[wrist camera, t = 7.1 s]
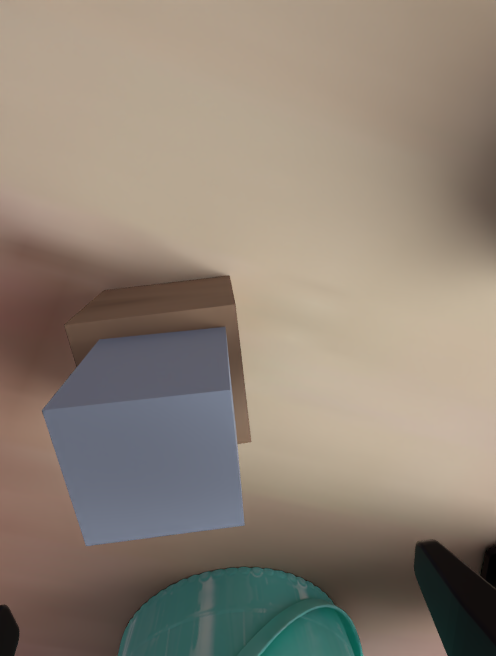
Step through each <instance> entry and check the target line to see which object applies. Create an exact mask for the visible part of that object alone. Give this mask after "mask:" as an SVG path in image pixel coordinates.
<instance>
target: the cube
mask: <svg viewBox="0 0 496 656" xmlns="http://www.w3.org/2000/svg"><path fill="white" fill-rule="evenodd" d="M42 412H43V415H44V418H45V421H46V424H47V427H48V431H49V434H50V437H51V440H52V443H53V446H54V449H55V452H56V455H57V458H58V461H59V464H60V467H61V470H62V473H63V477H64V480H65V483H66V486H67V489H68V492H69V495H70V498H71V501H72V504H73V507H74V510H75V513H76V516H77V519H78V522H79V526H80V529H81V532H82V535H83V538H84V541H85V544H86V546H91V545H98V544H106V543H114V542H121V541H129V540H137V539H144V538H152V537H160V536H167V535H175V534H183V533H190V532H198V531H206V530H213V529H221V528H229V527H236V526H244V525H245V524H244V513H243V502H242V491H241V479H240V468H239V457H238V446H237V434H236V424H235V414H234V405H233V395H232V386H231V376H230V366H229V357H228V347H227V337H226V328H225V327H218V328H208V329H198V330H188V331H178V332H168V333H158V334H148V335H138V336H128V337H118V338H109V339H99V341H98V342H97V343H96V344H95V345H94V347H93V348H92V349H91V350H90V352H89V353H88V354H87V355H86V357H85V358H84V359H83V360H82V362H81V363H80V364H79V365H78V366H77V368H76V369H75V370H74V371H73V373H72V374H71V375H70V376H69V378H68V379H67V380H66V381H65V382H64V384H63V385H62V386H61V387H60V389H59V390H58V391H57V392H56V394H55V395H54V396H53V397H52V399H51V400H50V401H49V402H48V403H47V405H46V406H45V407H44V408H43V410H42Z"/></svg>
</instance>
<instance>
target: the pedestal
mask: <svg viewBox="0 0 496 656" xmlns="http://www.w3.org/2000/svg"><path fill="white" fill-rule="evenodd" d="M64 327H65V330H66V333H67V337H68V340H69V343H70V347H71V350H72V353H73V357H74V360H75V363H76V367H77V366H78V365H79V364H80V363H81V362H82V360H83V359H84V358H85V357H86V355H87V354H88V353H89V352H90V350H91V349H92V348H93V347H94V345H95V344H96V343H97V342H98V341H99V339H109V338H118V337H128V336H138V335H148V334H158V333H168V332H178V331H188V330H198V329H208V328H218V327H225V328H226V337H227V347H228V357H229V366H230V376H231V386H232V395H233V405H234V414H235V424H236V434H237V444H241V443H248V442H251V435H250V427H249V418H248V409H247V401H246V392H245V383H244V375H243V366H242V357H241V349H240V340H239V331H238V323H237V314H236V305H235V300H234V295H233V290H232V285H231V280H230V276H223V277H215V278H206V279H197V280H189V281H180V282H172V283H163V284H154V285H146V286H137V287H129V288H120V289H111V290H104V291H103V292H102V293H101V294H99V295H98V296H97V297H96V298H95V299H94V300H92V301H91V302H90V303H89V304H88V305H87V306H85V307H84V308H83V309H82V310H81V311H80V312H79V313H77V314H76V315H75V316H74V317H73V318H72V319H70V320H69V321H68V322H67V323H66V324H65V325H64Z"/></svg>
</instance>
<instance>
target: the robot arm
mask: <svg viewBox="0 0 496 656" xmlns="http://www.w3.org/2000/svg"><path fill="white" fill-rule="evenodd" d="M414 571H415V575H416V579H417V581H418V584H419V586H420V589H421V591H422V594H423V596H424V599H425V601H426V604H427V606H428V608H429V611H430V613H431V616H432V618H433V621H434V623H435V626H436V628H437V631H438V633H439V636H440V638H441V641H442V643H443V646H444V648H445V651H446V653H447V655H448V656H496V547H493V548H490V549H488V550H487V551H486V553H485V559H484V564H483V569H482V575H481V576H480V575H478V574H477V573H476V572H475V571H473V570H472V569H471V568H470V567H469V566H467V565H466V564H465V563H464V562H462V561H461V560H460V559H459V558H458V557H456V556H455V555H454V554H453V553H451V552H450V551H449V550H448V549H447V548H445V547H444V546H443V545H442V544H440V543H439V542H438V541H436V540H433V539H430V540H424V541H418V542H417V543H416V546H415V558H414ZM18 640H19V627H18V625H17V623H16V621H15V619H14V617H13V615H12V613H11V611H10V609H9V607H8V606H7V605H0V656H14V655H15V651H16V648H17V644H18Z"/></svg>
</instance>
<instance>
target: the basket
mask: <svg viewBox="0 0 496 656" xmlns="http://www.w3.org/2000/svg"><path fill="white" fill-rule="evenodd" d="M118 656H363V653H362V647H361V643H360V639H359V636H358V634H357V631H356V628H355V626H354V624H353V622H352V620H351V619H350V617H349V616H348V615H347V613H346V612H344V611H343V610H342V609H340V608H339V607H337V606H335V605H334V604H333V601H332V600H331V599H330V598H328V596H327V594H326V593H325V592H322V591H321V590H320V588H318V587H317V586H314V585H313V584H312V583H311V582H309V581H305V580H304V579H303V578H301V577H296V576H294V575H293V574H291V573H284V572H283V571H280V570H272V569H269V568H264V569H261V568H259V567H253V568H248V567H240V568H227V569H225V570H224V569H218V570H214V571H212V572H210V571H208V572H204V573H202V574H200V575H193V576H191V577H189V578H188V579H182V580H180V581H179V582H178V583H176V584H172V585H170V586H168V587H167V588H166V589H164V590H161V591H160V592H159V593H158V594H157V595H156V596H153V597H152V598H150V599H149V600H148V602H147V603H145V604H143V605H142V606H141V608H140V610H138V611H137V612H136V613H135V614H134V617H133V618H132V619H131V620H130V621H129V623H128V626H127V627H126V629H125V631H124V634H123V636H122V640H121V643H120V648H119V653H118Z"/></svg>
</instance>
